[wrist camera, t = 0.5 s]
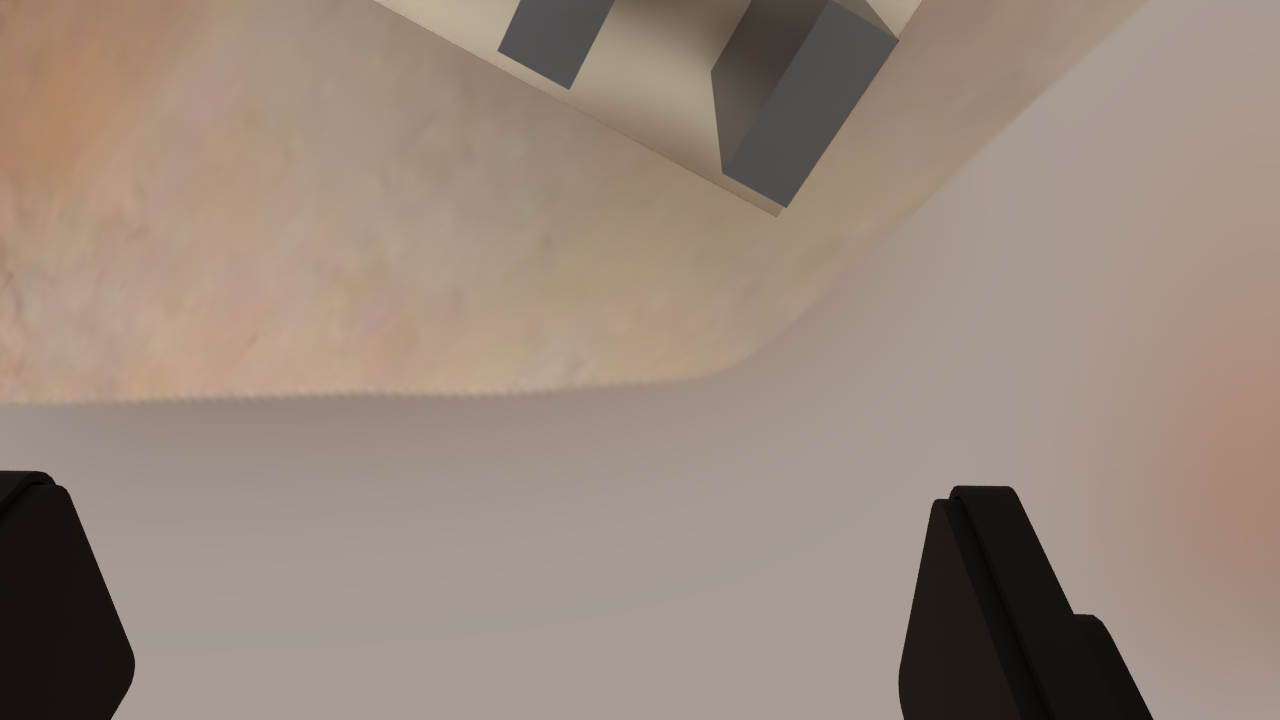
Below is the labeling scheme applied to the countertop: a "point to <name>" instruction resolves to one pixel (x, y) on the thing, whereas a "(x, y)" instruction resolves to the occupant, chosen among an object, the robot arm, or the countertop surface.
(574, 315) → the countertop surface
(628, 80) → the board
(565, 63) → the domino
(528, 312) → the countertop surface
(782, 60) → the domino
